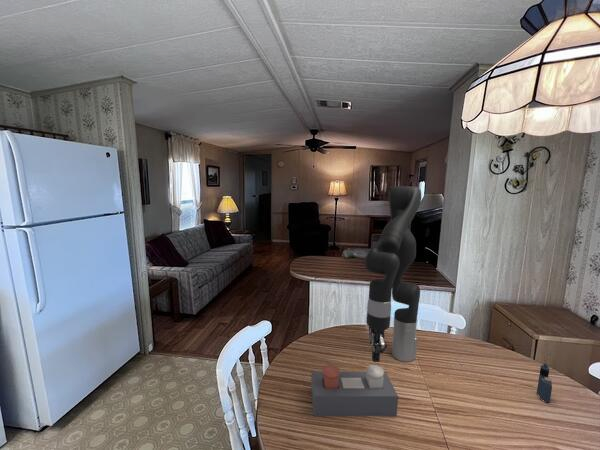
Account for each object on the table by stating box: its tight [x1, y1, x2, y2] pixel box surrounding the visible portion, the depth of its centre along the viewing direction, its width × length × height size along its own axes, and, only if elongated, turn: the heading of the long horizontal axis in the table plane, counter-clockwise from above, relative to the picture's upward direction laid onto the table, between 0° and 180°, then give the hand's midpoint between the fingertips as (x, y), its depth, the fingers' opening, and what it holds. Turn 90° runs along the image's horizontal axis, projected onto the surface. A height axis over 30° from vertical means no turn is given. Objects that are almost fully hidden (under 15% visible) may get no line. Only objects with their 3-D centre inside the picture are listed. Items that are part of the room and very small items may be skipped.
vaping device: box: [536, 363, 553, 403], centre depth 99 cm, size 3×5×12 cm, turn 161°
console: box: [310, 371, 399, 417], centre depth 95 cm, size 27×12×7 cm, turn 92°
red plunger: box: [322, 364, 340, 388], centre depth 94 cm, size 6×6×8 cm
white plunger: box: [365, 364, 385, 389], centre depth 95 cm, size 6×6×8 cm
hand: (375, 360), depth 94 cm, fingers closed
